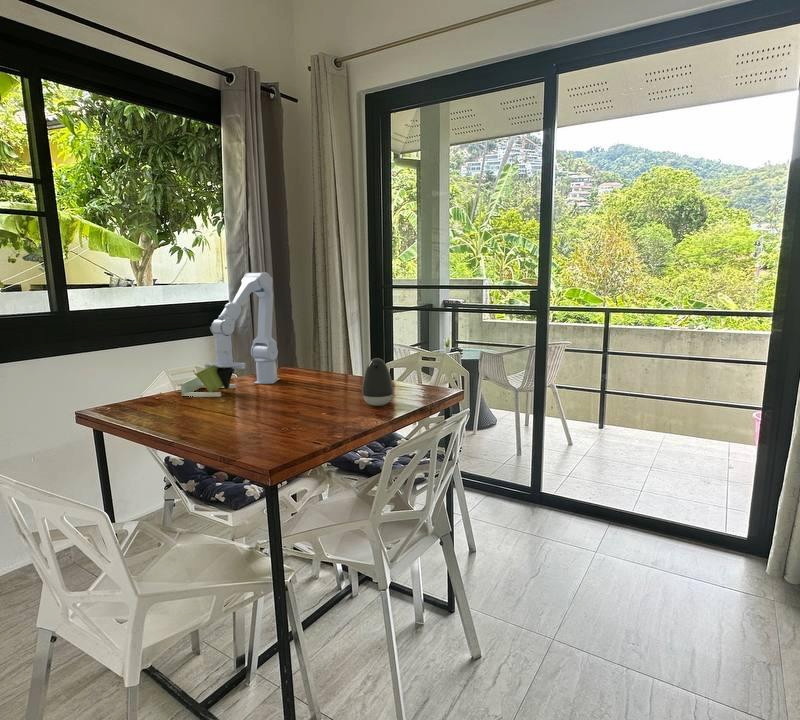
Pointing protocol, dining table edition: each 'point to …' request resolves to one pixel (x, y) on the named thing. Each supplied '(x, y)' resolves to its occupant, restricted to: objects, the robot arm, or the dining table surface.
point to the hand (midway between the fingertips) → (226, 387)
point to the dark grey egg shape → (377, 383)
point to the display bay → (195, 384)
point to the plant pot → (210, 378)
